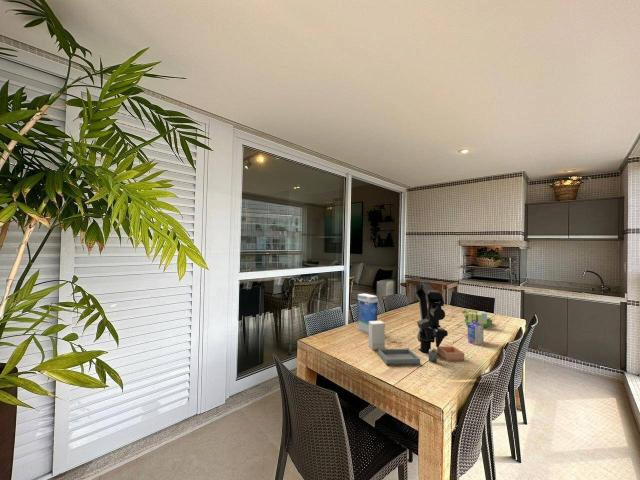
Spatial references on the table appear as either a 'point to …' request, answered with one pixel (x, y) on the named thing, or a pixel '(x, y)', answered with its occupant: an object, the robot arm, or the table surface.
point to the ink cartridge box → (475, 333)
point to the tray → (398, 357)
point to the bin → (450, 353)
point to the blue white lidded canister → (366, 311)
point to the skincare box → (376, 335)
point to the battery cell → (433, 355)
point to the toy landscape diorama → (477, 318)
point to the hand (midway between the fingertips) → (432, 343)
